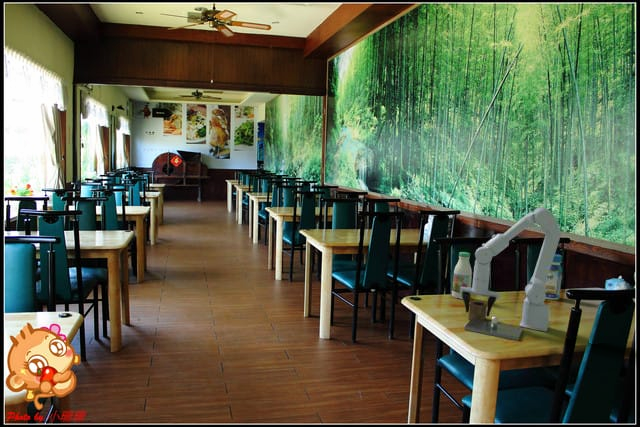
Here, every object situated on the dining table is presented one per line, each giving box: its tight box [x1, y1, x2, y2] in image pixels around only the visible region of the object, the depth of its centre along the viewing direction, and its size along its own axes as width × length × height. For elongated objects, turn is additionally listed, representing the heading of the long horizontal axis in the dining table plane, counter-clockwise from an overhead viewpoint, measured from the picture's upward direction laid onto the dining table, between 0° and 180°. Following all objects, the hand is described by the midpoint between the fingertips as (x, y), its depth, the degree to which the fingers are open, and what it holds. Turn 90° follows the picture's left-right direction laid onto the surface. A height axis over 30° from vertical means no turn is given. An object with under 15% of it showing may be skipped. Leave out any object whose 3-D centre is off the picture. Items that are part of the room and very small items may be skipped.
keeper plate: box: [464, 315, 524, 342], centre depth 188 cm, size 18×12×5 cm, turn 62°
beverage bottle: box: [545, 253, 563, 301], centre depth 242 cm, size 8×8×20 cm
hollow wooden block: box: [468, 300, 488, 321], centre depth 201 cm, size 5×7×6 cm
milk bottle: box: [451, 251, 473, 300], centre depth 232 cm, size 8×8×20 cm
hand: (477, 313), depth 201 cm, fingers open, 7 cm apart
